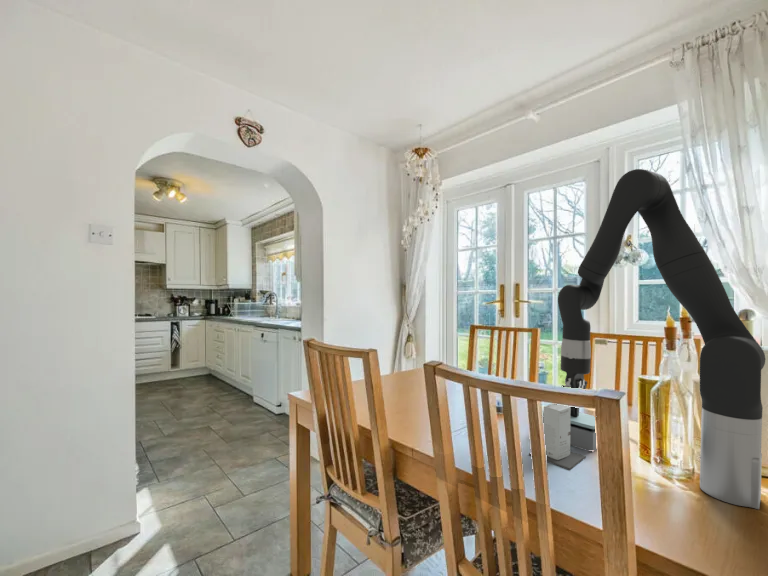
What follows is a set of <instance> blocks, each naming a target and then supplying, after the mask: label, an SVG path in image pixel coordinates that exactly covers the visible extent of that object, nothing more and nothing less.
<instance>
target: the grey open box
mask: <svg viewBox="0 0 768 576" xmlns="http://www.w3.org/2000/svg"><path fill="white" fill-rule="evenodd" d="M571 446H572V447H575V448H579V449H582V450H584V449H586V450H585V451H587V450H595V451H597V449H596V433H595V429H594V430H593V429H589V428H586V427H582V426H578V425H575V424H571V423H570V447H571Z"/></svg>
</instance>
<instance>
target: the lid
mask: <svg viewBox="0 0 768 576" xmlns="http://www.w3.org/2000/svg"><path fill="white" fill-rule="evenodd" d="M542 412H543V413H544V410H543V411H542ZM594 416H595V415H592V414H587V413H583V412H580V411H579V416H578V417H572V416H571V424H575V425H578V426H582V427H586V428H589V429H593V430H594V429H595V417H594Z"/></svg>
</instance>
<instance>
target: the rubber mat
mask: <svg viewBox="0 0 768 576" xmlns="http://www.w3.org/2000/svg"><path fill="white" fill-rule="evenodd" d="M528 456H530V457H532V456H531V454H530V452H529V453H528ZM586 458H587V457H586V455H583V454H580V453H577V452H575V451H571V450H570V455H569V456H567V457H565V458H562V459H560V460H556V459H553V458H551V457H548V456H547V463H550V464H552V465H555V466H558V467H560V468H564V469H566V470H569V471H571V470H572V469H573V468H574V467H576V466H577V465H578V464H580V463H581V462H582V461H583V459H584V460H585V459H586Z"/></svg>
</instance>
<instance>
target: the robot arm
mask: <svg viewBox="0 0 768 576" xmlns="http://www.w3.org/2000/svg"><path fill="white" fill-rule="evenodd" d="M637 213H638V214H639V215H640V216H641V218H642V220H643V221H644V224H646V227H647V229H648V231H649V232H650V236H651V242H652V243H651V244H652V254H653V255H652V256H653V259H654V262H655V265H656V268H657V269H658V272H659V274H660V275H661V277H662V280H663V281H664V283H665V285H666V286H667V288H668V289H669V291H670V292H671V294H672V295H673V296H674V297H675V299H676V300H677V301H678V302H679V303H680V305H681V306H682V307H683V308H684V310H685V311H687V313H688V314H689V315H690V317H691V318H692V320H693V321H694V323H695V325H696V327H697V329H698V331H699V333H700V335H701V338H702V341H703V343H704V345H703V347H702V348H701V351H700V354H699V394H700V398H701V423H700V455H699V456H700V459H699V462H700V463H699V464H700V465H699V488H700V490H702V491H703V492H704V493H705V494H707V495H709V496H710V497H712V498H715V499H717V500H719V501H722V502H725V503H728V504H731V505H736V506H740V507H741V506H742V507H746V508H748V507H749V508H753V509H755V510H760V508H761V498H762V466H763V465H762V463H763V462H762V461H763V459H762V458H763V454H762V453H763V452H762V440H763V439H762V435H763V433H762V432H763V430H762V429H763V428H762V427H763V404H762V395H761V394H762V392H761V390H762V370H763V368H764V366H765V365H766V356H765V355H766V354H765V352H764V350H763V348H762V347H761V345H760V344H759V343H758V341H757V340H756V339H755V337H754V336H753V335H752V333H750V331H749V329H748V328H747V326H745V325H746V324H744V323H743V321H742V320H741V318H740V317H739V315H738V314H737V312H736V310H735V309H734V307H733V306H732V305H733V304H732V303H731V301H730V299H729V296H728V293H727V291H726V289H725V287H724V285H723V283H722V280H721V278H720V277H719V275H718V272H717V270H716V269H715V267H714V264H713V262H712V260H711V259H710V258H709V256H708V254H707V252H706V251H705V249H704V247H703V246H702V244H701V243H700V241H699V239H698V237H697V236H696V234H695V233H694V231H693V230H692V228H691V227H690V225H689V224H688V222H687V221H686V219H685V217H684V216H683V214H682V211H681V210H680V207H679V205H678V202H677V200H676V197H675V195H674V192H673V189H672V187H671V185H670V183H669V181H668V179H667V178H666V177H664V175H662V174H660V173H658V172H655V171H652V170H648V169H643V168H636V169H631V170H629V171H627V172H626V173H624V174H623V175H622V176H621V177H620V178H619V179H618V181H617V183H616V184H615V188H614V189H613V192H612V194H611V197H610V200H609V203H608V205H607V208H606V211H605V214H604V217H603V219H602V221H601V224H600V226H599V229H598V231H597V233H596V235H595V238H594V239H593V242H592V244H591V245H590V247H589V249H588V251H587V252H586V254H585V255H584V258H583V260H582V262H581V263H580V265H579V267H578V269H577V275H578V276H579V277H580V278H581V280H580V283H579V284H566V285H564V286H563V287H561V289H560V290H559V293H558V296H557V305H558V309H559V315H560V317H561V322H562V335H561V336H562V340H561V345H560V370H561V372H564V373H566V374H565V375H566V376H565V379H564V385H563V384H562V385H561V387H562V386H563V387H571V388H583V389H587V385H588V381H587V380H585V376H584V375H589V374H590V373H591V360H592V359H591V358H592V357H591V356H592V355H591V354H592V352H591V351H592V347H591V323H590V321H589V320H588V319H585V318H584V317H583V313H582V311H584V310H585V311H586V310H589V309H591V308H593V307H594V306H595V305H596V304H597V302H598V300H599V298H600V296H601V292H602V289H603V287H604V282H605V279H606V277H608V276H607V275H608V274H609V272H610V271H611V269H613V266H614V265H615V263H616V262H617V259H618V257H619V254H620V251H621V247H622V243H623V239H624V236H625V233H626V230H627V229H628V226H629V224H630V222H631V221H632V219H633V218H634V217H635V215H636V214H637ZM579 412H580V407H579V408H575V407H571V413H570V416H572V417H578V416H579Z"/></svg>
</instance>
